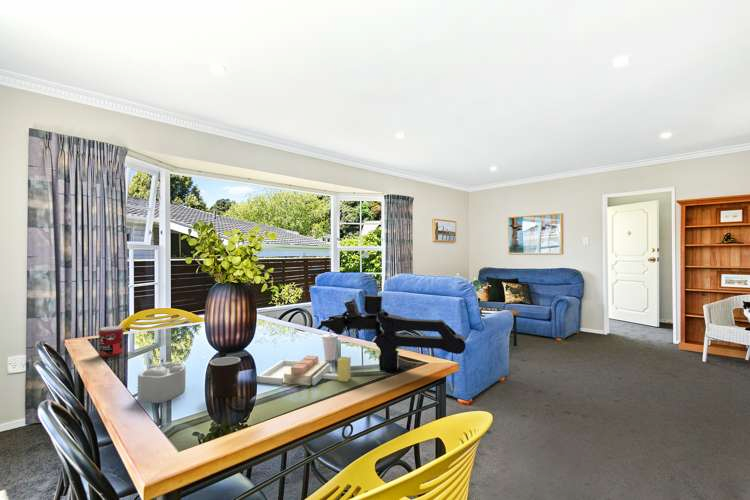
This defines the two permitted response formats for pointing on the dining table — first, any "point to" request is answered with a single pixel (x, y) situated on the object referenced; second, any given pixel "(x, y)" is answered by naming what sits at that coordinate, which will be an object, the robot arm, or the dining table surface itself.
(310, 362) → the tile
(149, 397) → the lumpy-topped squat cylinder
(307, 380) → the shallow cream open box
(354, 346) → the dining table surface
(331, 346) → the smoothie
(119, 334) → the canned food
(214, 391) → the coffee mug
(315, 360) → the tile
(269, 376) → the tray
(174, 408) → the dining table surface
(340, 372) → the scraper
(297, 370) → the tile
